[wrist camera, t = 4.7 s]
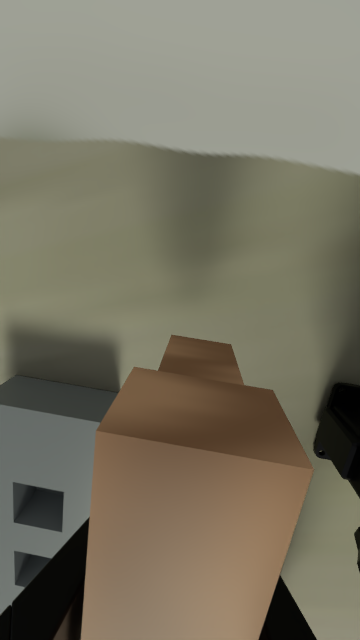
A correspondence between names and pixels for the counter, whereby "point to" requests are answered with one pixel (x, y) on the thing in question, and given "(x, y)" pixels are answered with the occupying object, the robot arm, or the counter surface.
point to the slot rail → (43, 472)
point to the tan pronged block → (190, 502)
